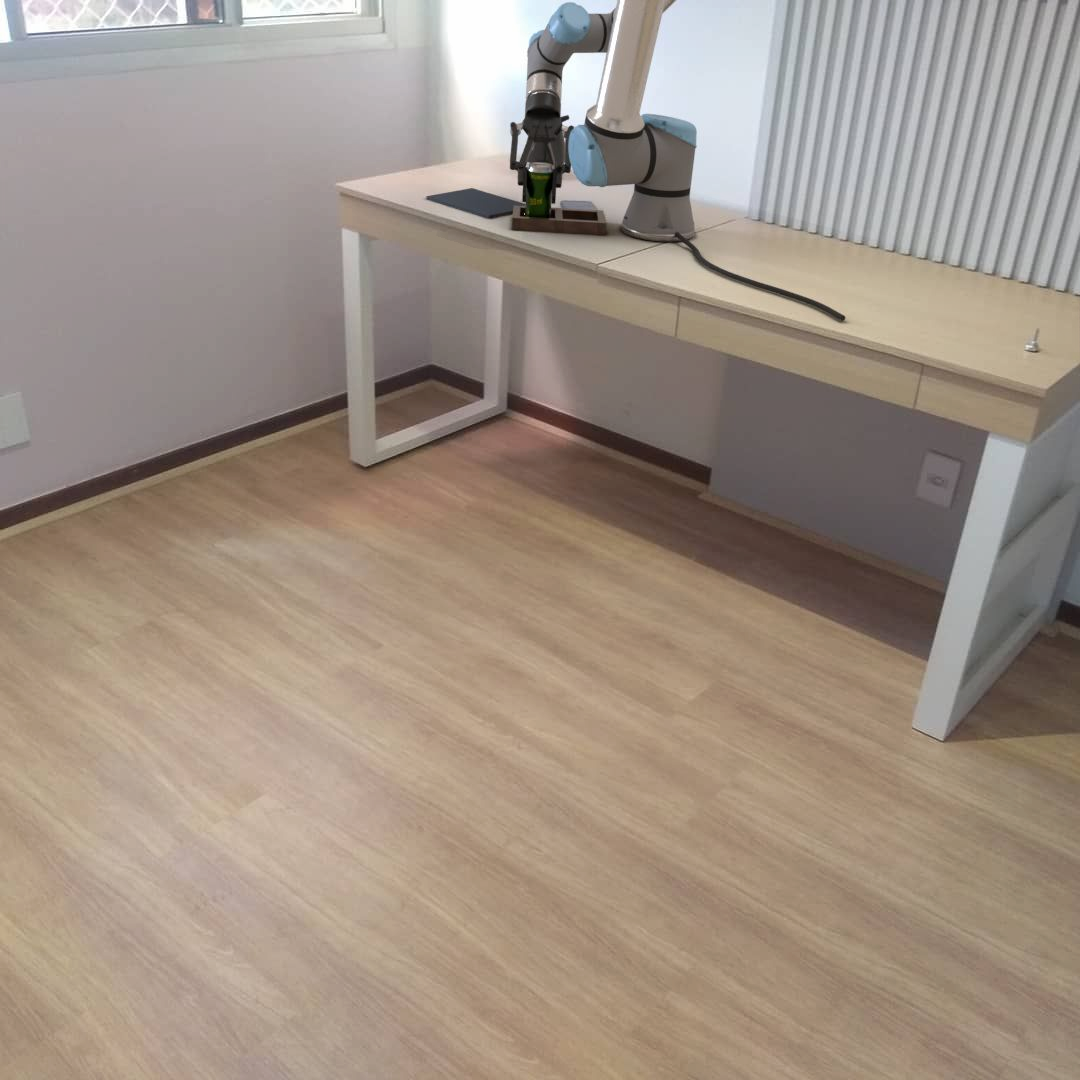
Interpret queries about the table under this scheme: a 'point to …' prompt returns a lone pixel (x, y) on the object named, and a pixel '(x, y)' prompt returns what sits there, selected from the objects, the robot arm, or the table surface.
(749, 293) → the table surface
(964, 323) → the table surface
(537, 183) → the beer can
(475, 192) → the slate mat
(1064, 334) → the table surface
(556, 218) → the can stand
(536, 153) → the pump dispenser
